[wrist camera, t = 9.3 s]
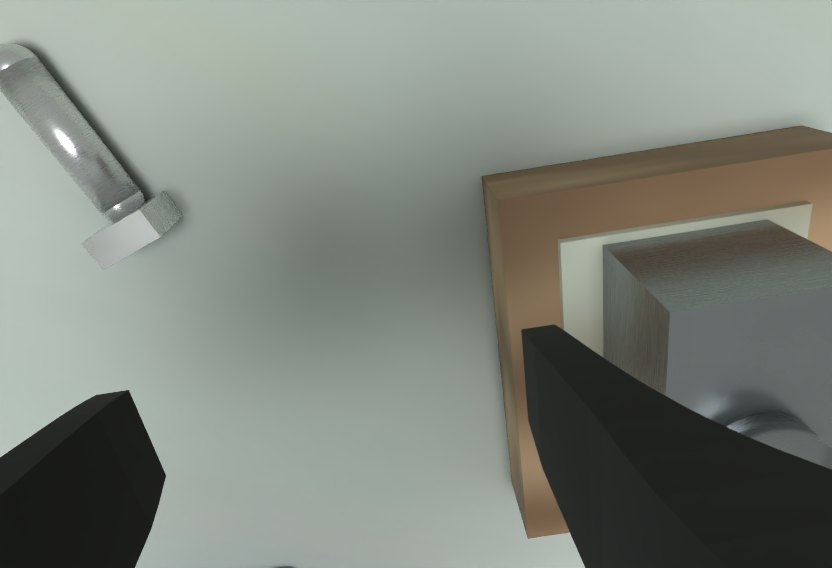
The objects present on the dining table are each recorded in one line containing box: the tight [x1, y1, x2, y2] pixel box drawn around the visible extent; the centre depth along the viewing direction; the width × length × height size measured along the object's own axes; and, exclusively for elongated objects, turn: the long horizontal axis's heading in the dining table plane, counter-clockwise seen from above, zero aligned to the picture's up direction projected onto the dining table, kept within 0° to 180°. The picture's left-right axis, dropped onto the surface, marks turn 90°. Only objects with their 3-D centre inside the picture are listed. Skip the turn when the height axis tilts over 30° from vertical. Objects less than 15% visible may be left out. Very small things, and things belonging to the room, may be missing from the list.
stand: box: [482, 126, 832, 538], centre depth 21 cm, size 14×11×3 cm
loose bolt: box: [0, 43, 183, 270], centre depth 17 cm, size 7×2×2 cm, turn 28°
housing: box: [603, 219, 832, 469], centre depth 17 cm, size 10×5×5 cm, turn 8°
